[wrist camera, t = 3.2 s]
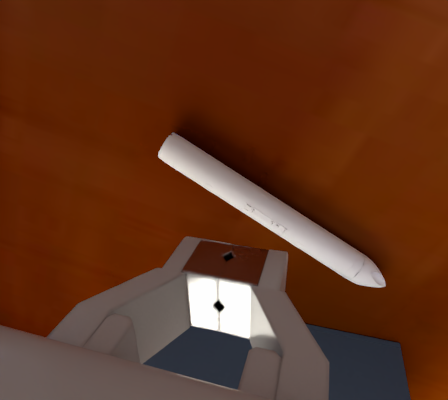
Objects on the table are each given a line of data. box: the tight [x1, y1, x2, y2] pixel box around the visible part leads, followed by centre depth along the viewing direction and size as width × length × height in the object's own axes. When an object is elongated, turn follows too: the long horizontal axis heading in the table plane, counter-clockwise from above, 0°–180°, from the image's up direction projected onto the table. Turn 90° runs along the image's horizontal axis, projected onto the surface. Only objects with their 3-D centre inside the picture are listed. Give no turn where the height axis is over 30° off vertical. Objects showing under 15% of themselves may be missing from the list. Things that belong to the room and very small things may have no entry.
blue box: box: [143, 324, 411, 400], centre depth 28 cm, size 10×20×8 cm, turn 91°
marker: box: [158, 133, 386, 288], centre depth 23 cm, size 18×2×2 cm, turn 61°
